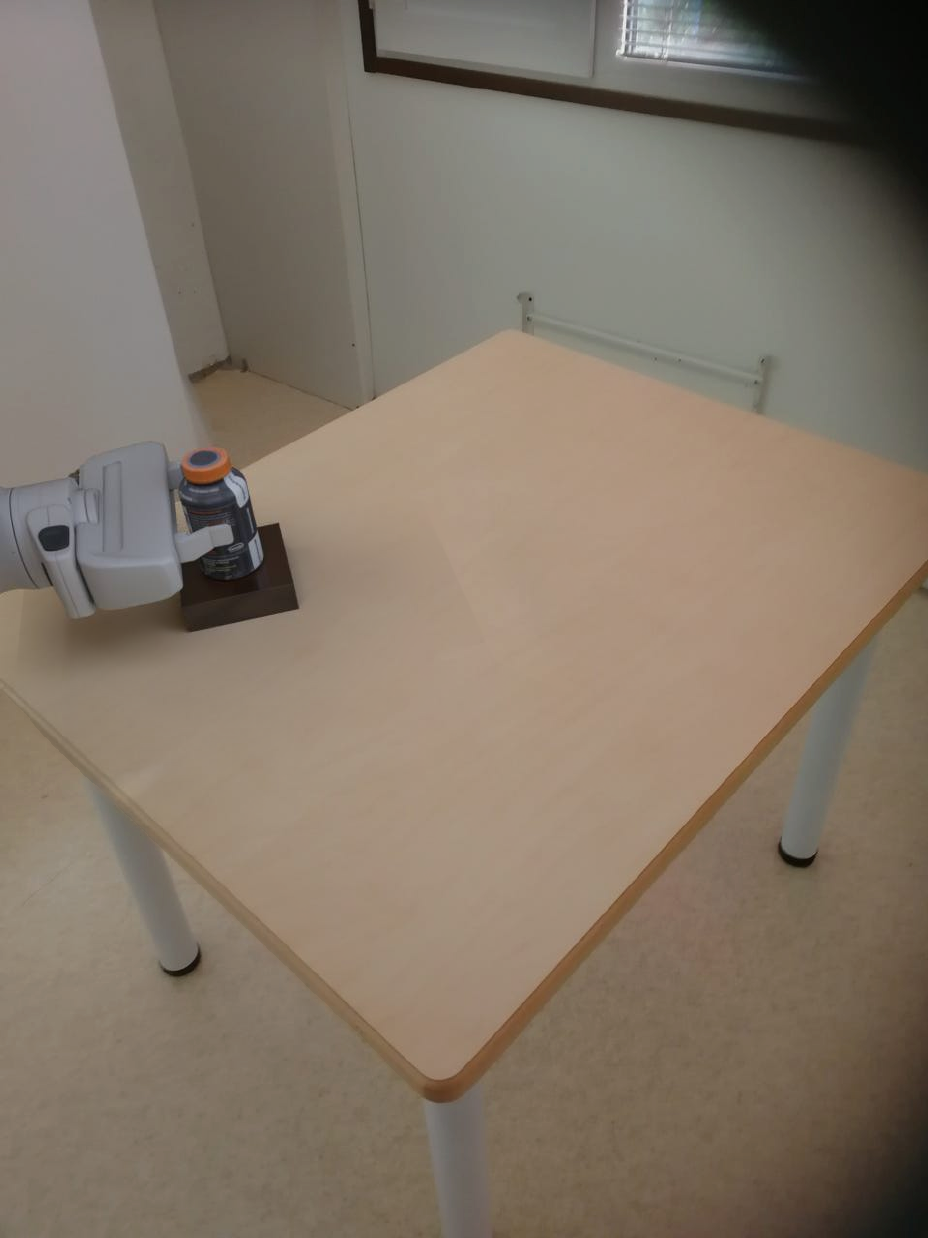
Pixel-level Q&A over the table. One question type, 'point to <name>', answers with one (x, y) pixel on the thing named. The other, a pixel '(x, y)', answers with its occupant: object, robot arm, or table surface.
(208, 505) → the pill bottle
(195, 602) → the walnut stand
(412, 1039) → the table surface
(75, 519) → the robot arm
